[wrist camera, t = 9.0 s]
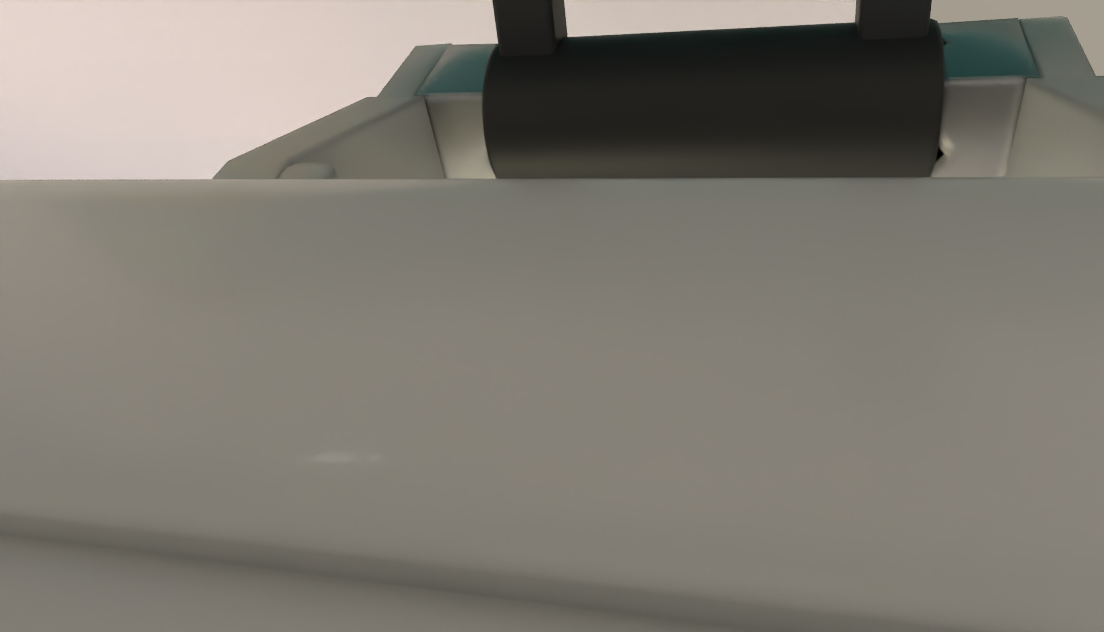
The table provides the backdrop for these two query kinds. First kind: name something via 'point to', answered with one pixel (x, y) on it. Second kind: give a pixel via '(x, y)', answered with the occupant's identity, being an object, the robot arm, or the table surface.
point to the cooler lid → (715, 98)
